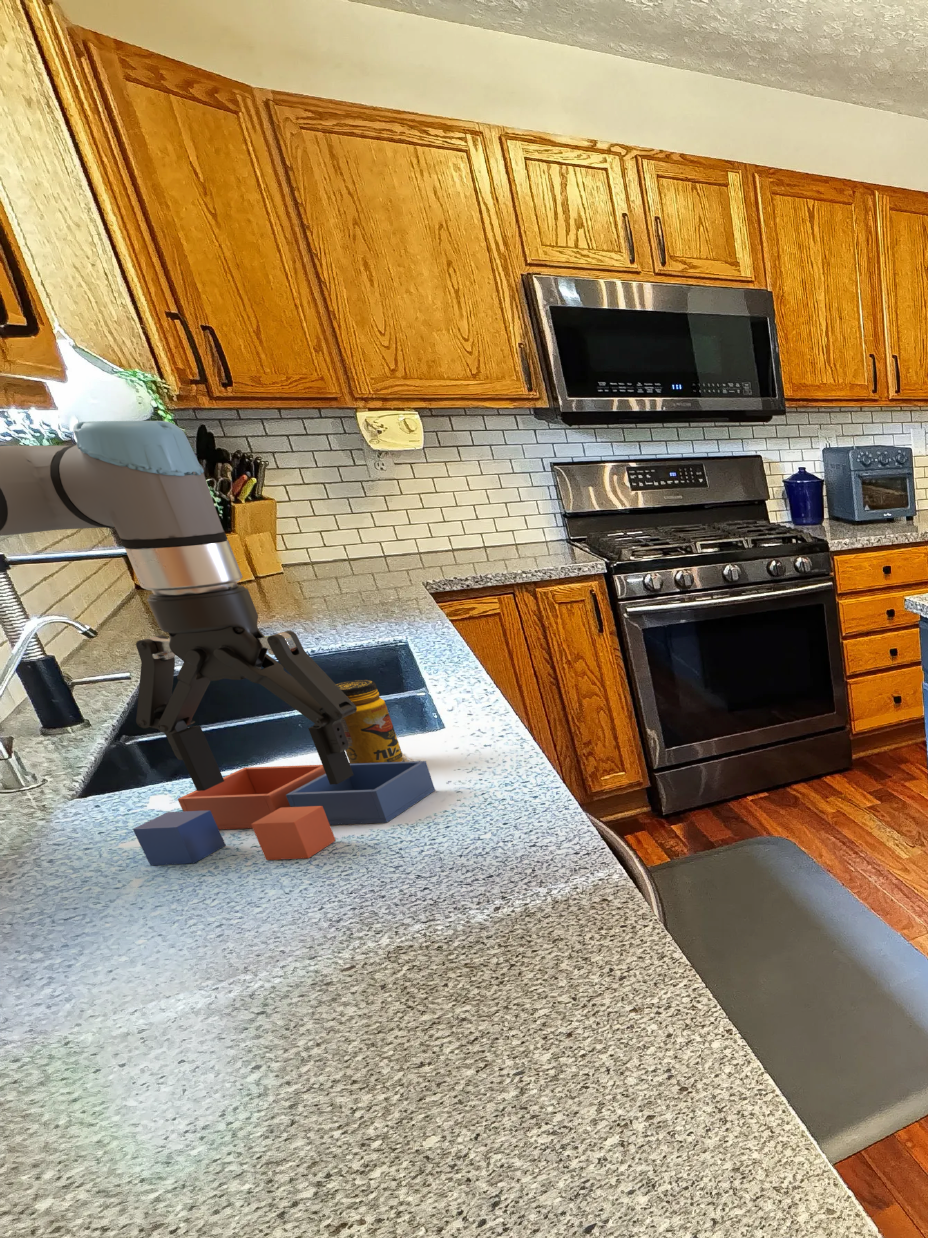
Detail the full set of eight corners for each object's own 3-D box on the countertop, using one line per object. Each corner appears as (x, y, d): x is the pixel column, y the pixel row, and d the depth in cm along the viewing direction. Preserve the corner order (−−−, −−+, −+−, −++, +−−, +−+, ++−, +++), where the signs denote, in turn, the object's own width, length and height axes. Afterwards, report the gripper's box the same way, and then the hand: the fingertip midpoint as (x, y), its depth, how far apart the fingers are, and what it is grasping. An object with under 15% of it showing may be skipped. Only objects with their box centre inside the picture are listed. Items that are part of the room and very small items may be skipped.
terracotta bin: (191, 831, 103) (177, 798, 101) (256, 797, 112) (244, 767, 111) (282, 827, 104) (269, 795, 102) (339, 793, 113) (328, 764, 111)
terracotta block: (265, 860, 96) (250, 824, 94) (295, 842, 100) (280, 807, 98) (308, 858, 96) (294, 822, 94) (336, 840, 100) (322, 805, 98)
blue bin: (298, 826, 104) (285, 794, 102) (354, 793, 113) (343, 763, 112) (387, 822, 105) (375, 791, 103) (435, 790, 114) (425, 760, 112)
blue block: (149, 865, 95) (132, 828, 93) (184, 847, 99) (168, 811, 97) (193, 863, 95) (176, 827, 93) (226, 845, 99) (210, 810, 98)
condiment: (412, 766, 122) (385, 684, 118) (337, 782, 117) (306, 697, 112) (402, 753, 127) (376, 674, 122) (330, 768, 122) (299, 686, 117)
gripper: (352, 577, 91) (416, 765, 99) (97, 585, 89) (184, 775, 97) (300, 590, 84) (374, 790, 92) (23, 599, 82) (124, 802, 90)
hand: (277, 783), depth 95 cm, fingers open, 13 cm apart
